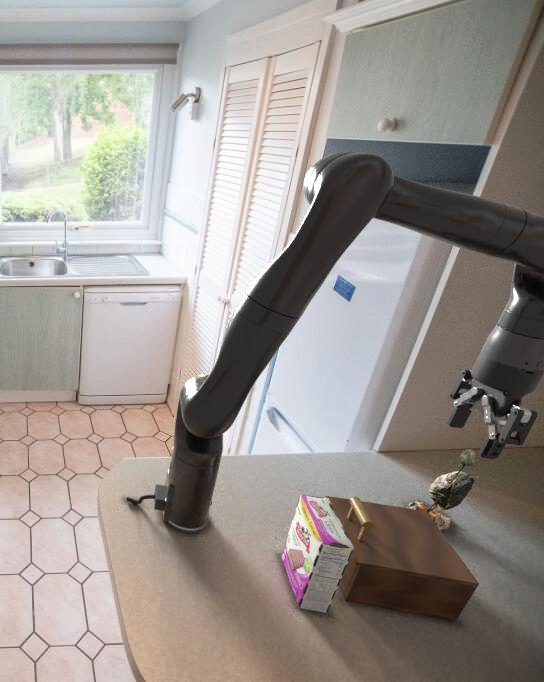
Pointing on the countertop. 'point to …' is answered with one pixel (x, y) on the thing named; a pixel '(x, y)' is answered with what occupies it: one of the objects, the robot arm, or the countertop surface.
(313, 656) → the countertop surface
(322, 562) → the candy bar box
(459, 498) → the plant with pod
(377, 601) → the chest
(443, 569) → the lid
